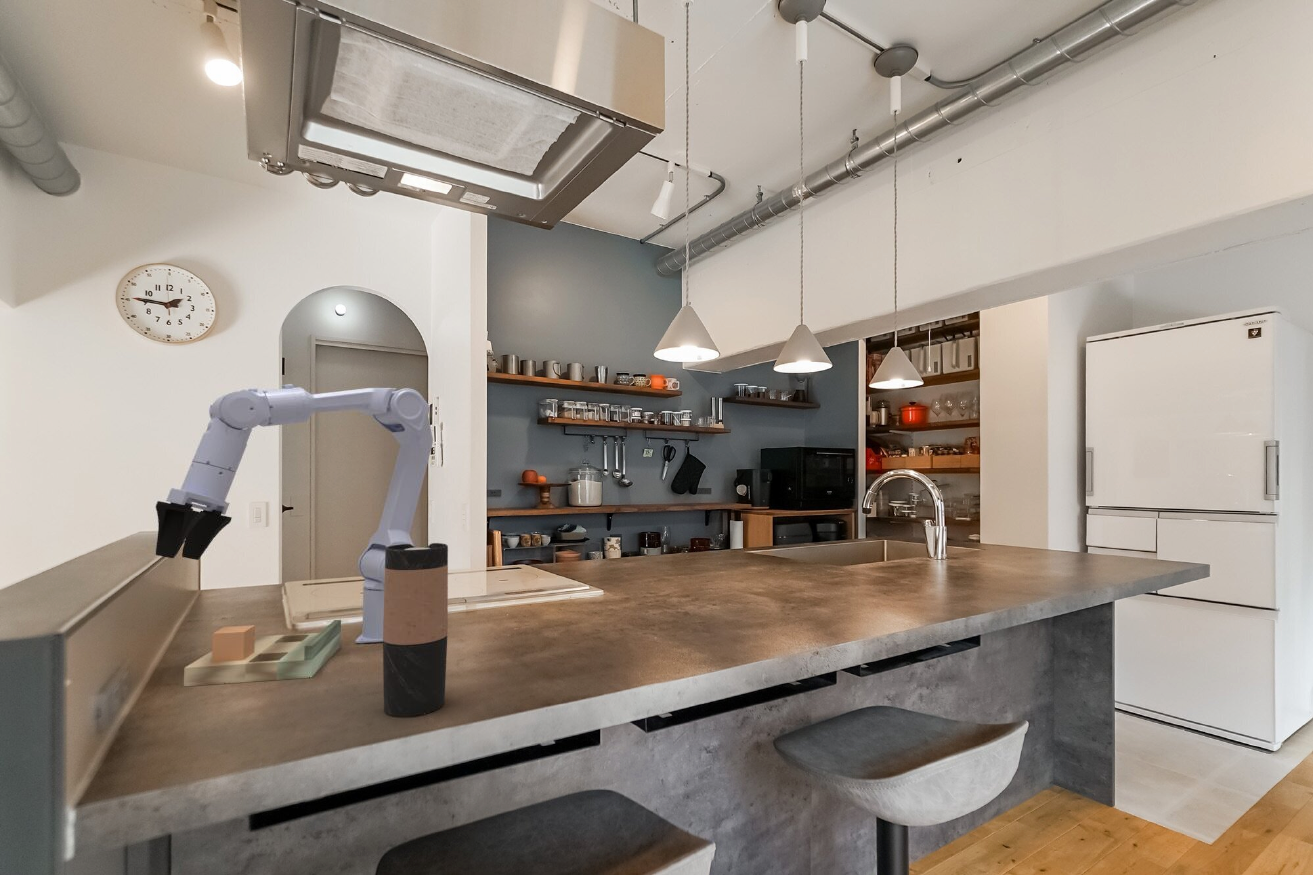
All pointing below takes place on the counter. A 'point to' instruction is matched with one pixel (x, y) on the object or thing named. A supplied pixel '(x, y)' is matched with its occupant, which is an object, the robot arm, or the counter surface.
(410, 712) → the travel mug
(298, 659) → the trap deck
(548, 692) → the counter surface
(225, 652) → the block
